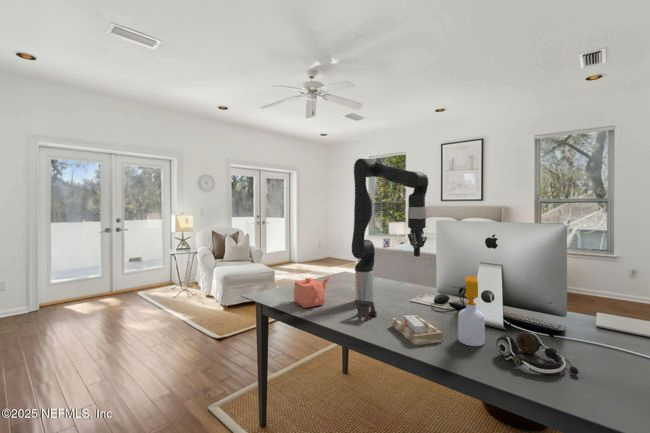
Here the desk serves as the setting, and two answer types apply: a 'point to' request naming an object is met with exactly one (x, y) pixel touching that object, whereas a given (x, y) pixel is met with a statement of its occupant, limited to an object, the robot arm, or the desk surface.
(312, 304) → the teapot
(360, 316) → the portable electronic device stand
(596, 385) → the desk surface
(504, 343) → the headset
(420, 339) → the wooden tray
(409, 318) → the skincare box
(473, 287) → the soap bottle
